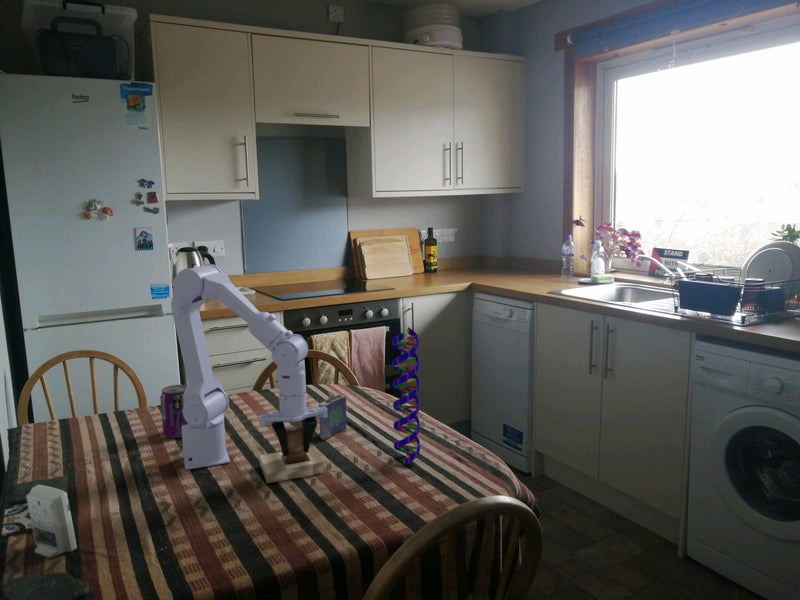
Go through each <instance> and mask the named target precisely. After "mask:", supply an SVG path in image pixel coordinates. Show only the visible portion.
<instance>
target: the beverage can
mask: <svg viewBox="0 0 800 600" xmlns="http://www.w3.org/2000/svg"><path fill="white" fill-rule="evenodd" d="M187 386H188V385H186V384H174V385H173V384H171V385H167V386H165V387H163V388H162V389H161V395H160V398H159V400H160V401H159V402H160V410H161V422H162V423H161V425H162V434H163V436H165V437H168V438H171V439H181V438H182V426H183V425H187V424H188V423H187V421H186V420H185V418H184V416H183V407H184V399H183V395H184V392H185V390H186V388H187Z"/></svg>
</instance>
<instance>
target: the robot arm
mask: <svg viewBox="0 0 800 600" xmlns="http://www.w3.org/2000/svg"><path fill="white" fill-rule="evenodd" d="M171 284H172V285H171V286H172V289H173V293H172V297H171V303H170V306H171V308H170V309H171V312H172V316H173V321H174V324H175V329H176V334H177V339H178V344H179V346H180V347H179V348H180V351H181V356H182V360H183V364H184V365H183V366H184V370H185V373H186V374H185V375H186V379H187V385H186V386H187V388H186V390H185V392H184V395H183V399H184V407H183V416H184V418H185V420H186V421H187V423H188V424H187V425H183V426H182V437H181V438H182V449H181V457H182V459H183V461H184V462H183V463H184V470H192V469H199V468H205V467H206V468H207V467H210V466H211V467H212V466H217V465H225V464H229V463H230V462H231V460H230V456H229V454H228V450H227V448H226V431H225V430H226V429H225V412H227V410H228V408H229V405H230V399H229V396H228V394H227V393H226V392H225V391H224V389H223V384H222V382H221V381H220V380H218V379H217V378H215V376H214V372H213V369H212V364H211V359H210V355H209V354H210V353H209V351H208V346H207V340H206V337H205V331H204V327H203V324H202V319H201V314H200V308H201V307H202V305H203V304H204V303H205V301H206V300H212V301H220V302H221V303H222V304H224V305H225V306H226V307H227V308H228V309H230V310H231V311H232V312H234V313H235V314H236V315H237V316H239V317H240V319H242V320H243V321H244V322H246V323H247V324H248V332H249V333H250V334H251V335H252V336H253V337H254V339H256V340H258V342H259V343H261V345H263V346H264V347H265V348H266V349H267V350H268V351H270V353H271V358H272V360H273V362H274V364H275V365H276V366H277V368H276V369H277V379H278V380H277V382H278V404H279V410H278V411H277V410H276V411H273V412H269V413H267V414H260V415H258V425H259V427H260V428H264V427H267V426H270V425H271V427H272V430H274V432H275V435H276V437H277V439H278V442H279V446H280V449H281V452H282V454H283V456H287V448H286V429H287V427H285V423H292V422H293V423H294V422H301V425H302V426H301V428H302V429H303V440H304V449H305V450H304V451H305V453H308V452H309V447H311V446H310V445H311V441H312V439H313V435H314V433H315V431H316V428H317V426H318V420H317V418H318V419H320V417H322V418H327V417H328V415H327V408H326V407H325V406H324V407H319V406H316V407H315V406H311V407H309V406H308V407H307V385H306V384H307V383H306V382H307V381H306V366H305V365H306V364H305V363H306V362H305V358H306V357H307V356H308V354H309V344H308V342H307V340H306V339H305V338H304V337H303V336H302V335H301V334H296V333H294V332H293V331H292V330H290V329H289V330H288V329H287V328H286V327H285V326H284V325H282V324H281V322H280V321H279V320H278V319H277V318H278V316H277V315H275V314H274V313H269V312H267V311H263V312H262V311H259V309H257V307H255V305H254V304H253V303H252V302H251V301H250V300H249V299H248V298H247V297H246V296H245V295H244V294H243V293H242V292H241V291H240V289H238V288H237V287H236V286H235V285H234V284H233V283H232V282H231V279H230V277H229V276H228V274H227V273H225V272H224V271H222V270H221V268H219V267H218V266H217V265H215V264H212V263H206V264H204V265H200V266H196V267H190V268H183V269H181V270H180V271H179V272H178V273H177V274H176V275H175V277H174V278H173V279H172V280H171Z"/></svg>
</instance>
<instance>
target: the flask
mask: <svg viewBox="0 0 800 600" xmlns="http://www.w3.org/2000/svg"><path fill="white" fill-rule="evenodd" d="M327 394H328V397H327V399H326V400H324V401H321V402H320V403H319V405H318V407H324V406H325V407H326V408H327V415H328V417H327V418H322V417H319V437H320V440H323V441H325V440H330V439H332V438H334V437H335V436H338V434H341V433H343V432H346V431H347V430H348V429H347V416H348V415H347V396H346V395H344V394H339V393H338V394H336V395H335V393H334V392H332V391H328V393H327Z"/></svg>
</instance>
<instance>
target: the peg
mask: <svg viewBox="0 0 800 600" xmlns="http://www.w3.org/2000/svg"><path fill="white" fill-rule="evenodd" d="M286 448H287V456H286V460H287V463H288V464H295V463H301V462H304V461H305V452H304V450H305V449H304V440H303V428H302V426H301V427H300V426H290V427H286Z"/></svg>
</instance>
